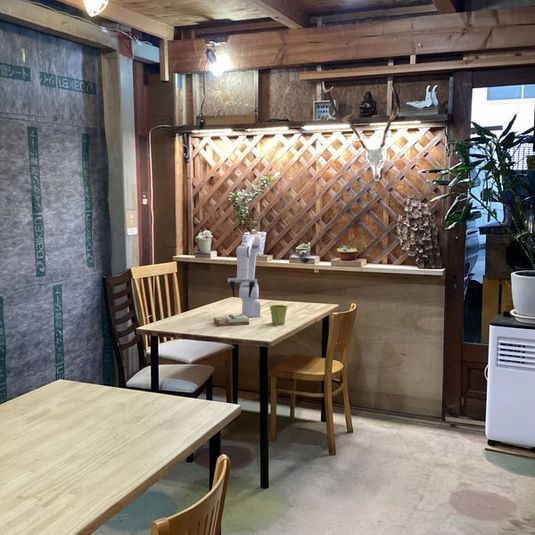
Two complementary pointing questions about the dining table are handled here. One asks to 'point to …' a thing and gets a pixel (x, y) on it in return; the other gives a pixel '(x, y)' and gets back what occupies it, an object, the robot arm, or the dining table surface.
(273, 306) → the plant pot
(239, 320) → the panel
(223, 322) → the board
